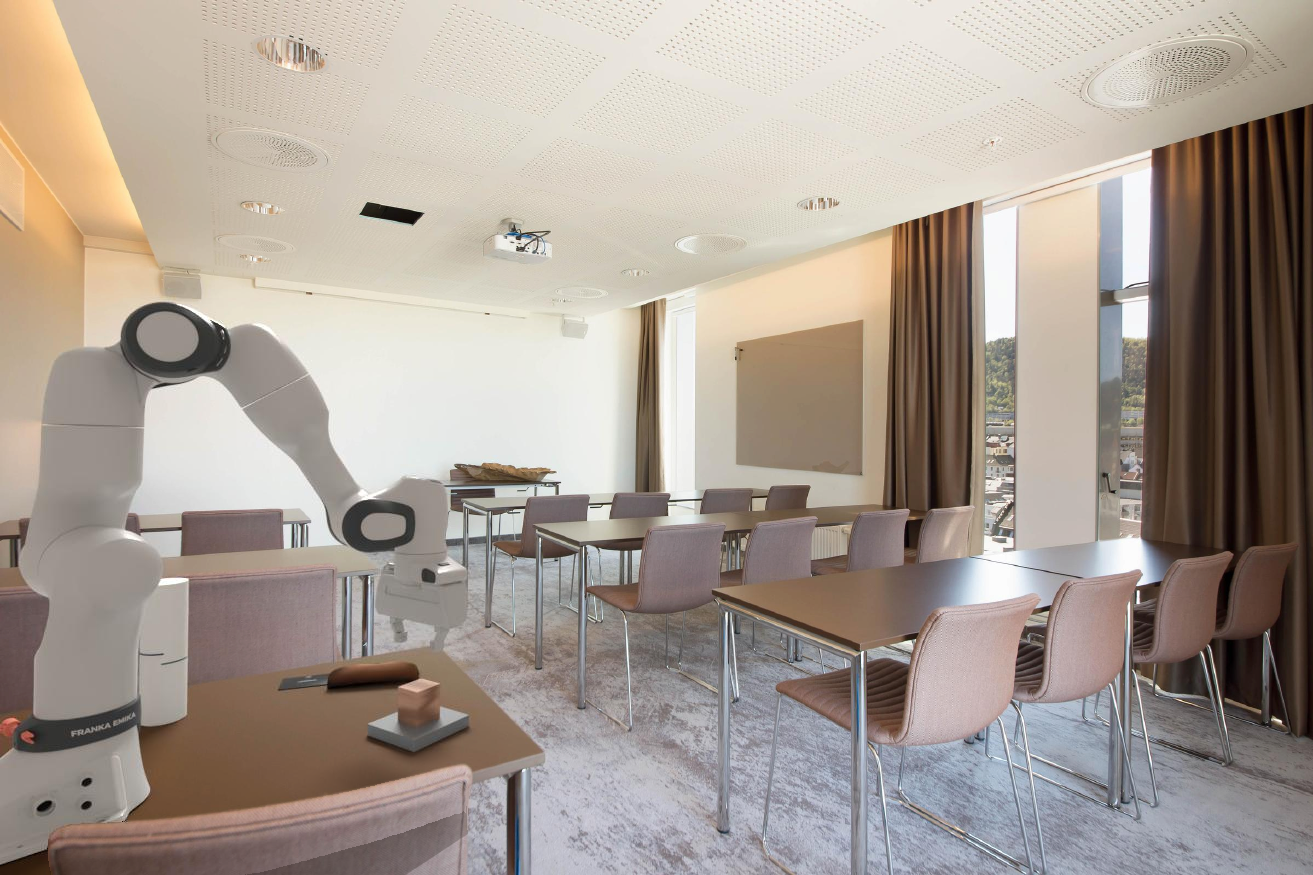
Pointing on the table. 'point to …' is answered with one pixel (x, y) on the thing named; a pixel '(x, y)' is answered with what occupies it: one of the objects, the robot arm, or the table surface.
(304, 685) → the solid state drive
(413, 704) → the terracotta block
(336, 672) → the sunglasses case
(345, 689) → the table surface
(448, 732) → the slate base
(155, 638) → the cylindrical container
